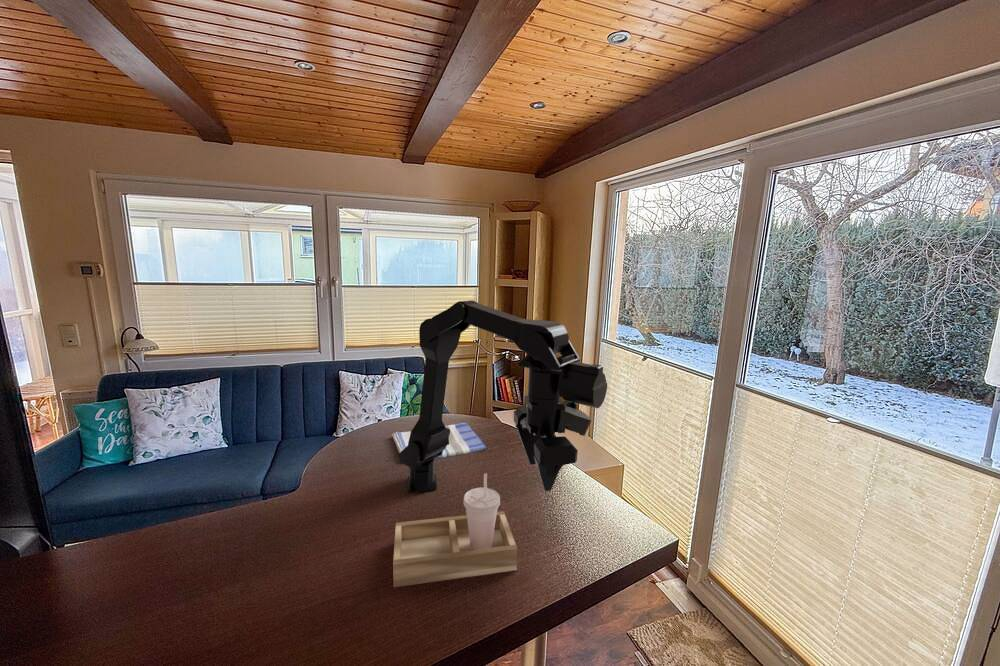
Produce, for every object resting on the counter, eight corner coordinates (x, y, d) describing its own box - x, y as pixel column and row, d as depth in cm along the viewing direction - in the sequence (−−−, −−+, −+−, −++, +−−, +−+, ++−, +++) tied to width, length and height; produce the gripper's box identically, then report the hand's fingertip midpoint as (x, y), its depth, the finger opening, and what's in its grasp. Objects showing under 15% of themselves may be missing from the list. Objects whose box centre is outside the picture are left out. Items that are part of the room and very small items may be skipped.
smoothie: (495, 562, 68) (497, 485, 65) (458, 557, 69) (459, 481, 67) (501, 537, 74) (503, 466, 72) (468, 533, 75) (468, 463, 73)
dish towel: (391, 439, 118) (390, 430, 117) (468, 428, 127) (468, 420, 126) (399, 467, 102) (399, 456, 101) (487, 452, 111) (487, 443, 110)
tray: (396, 542, 74) (395, 522, 73) (503, 530, 78) (503, 511, 77) (393, 587, 63) (393, 564, 63) (516, 570, 68) (517, 548, 67)
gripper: (611, 411, 63) (603, 502, 66) (568, 377, 81) (563, 450, 84) (543, 414, 61) (538, 508, 64) (514, 379, 79) (511, 453, 82)
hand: (539, 476), depth 73 cm, fingers open, 9 cm apart
